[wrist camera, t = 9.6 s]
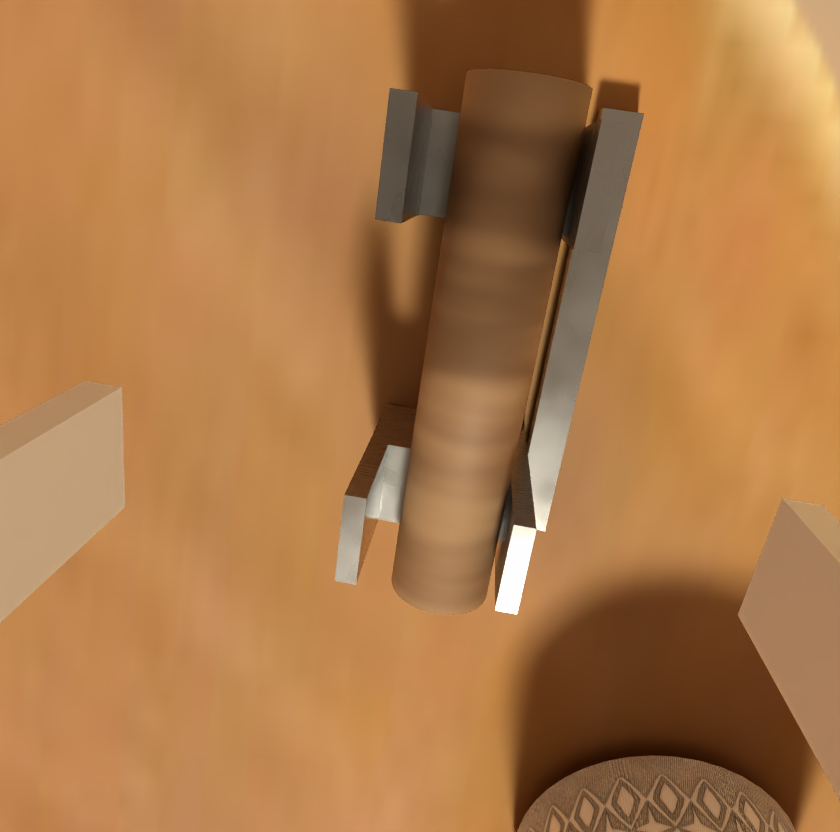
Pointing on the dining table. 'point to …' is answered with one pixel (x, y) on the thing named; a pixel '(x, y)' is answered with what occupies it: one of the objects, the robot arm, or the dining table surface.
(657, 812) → the planter
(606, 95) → the dining table surface
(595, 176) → the bracket
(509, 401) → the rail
